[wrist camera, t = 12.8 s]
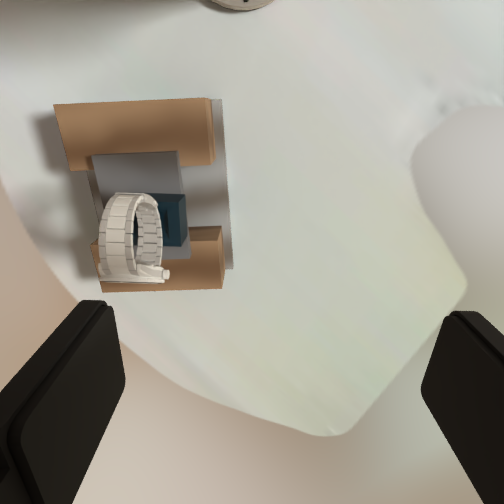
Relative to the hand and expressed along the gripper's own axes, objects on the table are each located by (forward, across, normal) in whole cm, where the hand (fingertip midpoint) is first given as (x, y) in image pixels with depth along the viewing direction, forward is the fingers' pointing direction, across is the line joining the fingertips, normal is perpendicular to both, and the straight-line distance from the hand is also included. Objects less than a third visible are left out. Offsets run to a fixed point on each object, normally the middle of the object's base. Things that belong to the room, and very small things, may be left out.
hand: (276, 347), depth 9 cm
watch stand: (+31, +12, +4) cm, 33 cm away
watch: (+24, +10, +4) cm, 26 cm away
